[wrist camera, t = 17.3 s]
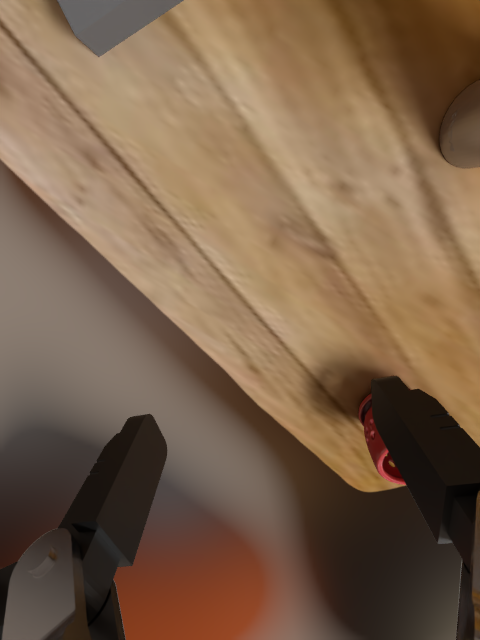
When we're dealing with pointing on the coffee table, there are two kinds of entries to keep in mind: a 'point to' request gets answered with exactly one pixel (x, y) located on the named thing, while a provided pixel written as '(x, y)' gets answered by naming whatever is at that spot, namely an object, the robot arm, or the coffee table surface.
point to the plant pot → (377, 444)
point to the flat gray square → (111, 19)
